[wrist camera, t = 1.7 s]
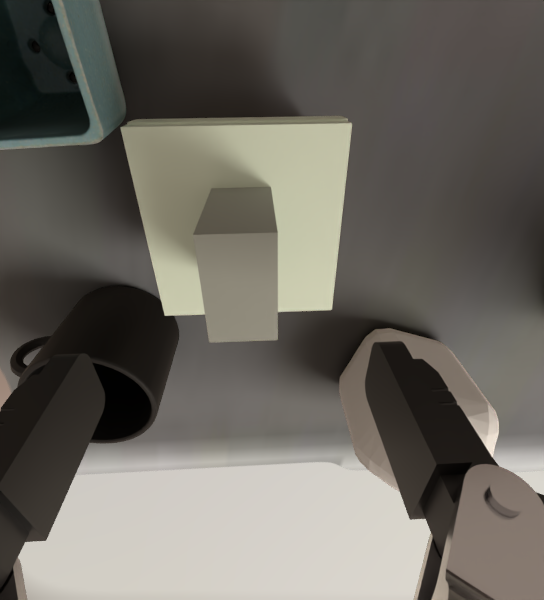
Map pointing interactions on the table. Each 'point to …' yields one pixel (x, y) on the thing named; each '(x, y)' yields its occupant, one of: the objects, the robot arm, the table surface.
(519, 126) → the table surface
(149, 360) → the mug
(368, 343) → the soap bottle
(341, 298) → the table surface
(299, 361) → the table surface
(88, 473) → the table surface
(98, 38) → the flower pot
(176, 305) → the lid
